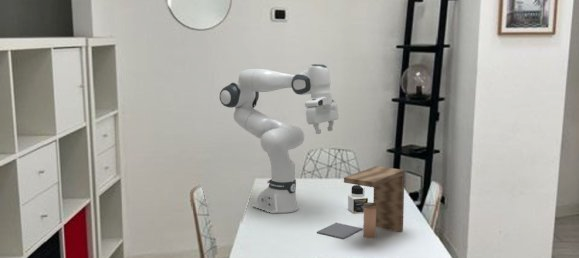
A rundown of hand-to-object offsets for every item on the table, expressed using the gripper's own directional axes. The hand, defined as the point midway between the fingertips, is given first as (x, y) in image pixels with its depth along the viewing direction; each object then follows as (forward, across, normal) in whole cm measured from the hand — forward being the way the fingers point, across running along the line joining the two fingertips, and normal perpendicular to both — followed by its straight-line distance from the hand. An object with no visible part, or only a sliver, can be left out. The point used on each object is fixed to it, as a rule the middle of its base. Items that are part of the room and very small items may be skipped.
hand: (324, 132), depth 251 cm
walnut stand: (+42, +9, +26) cm, 50 cm away
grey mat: (+40, +12, +12) cm, 44 cm away
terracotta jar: (+42, +10, +24) cm, 49 cm away
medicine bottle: (+40, -18, +3) cm, 44 cm away
